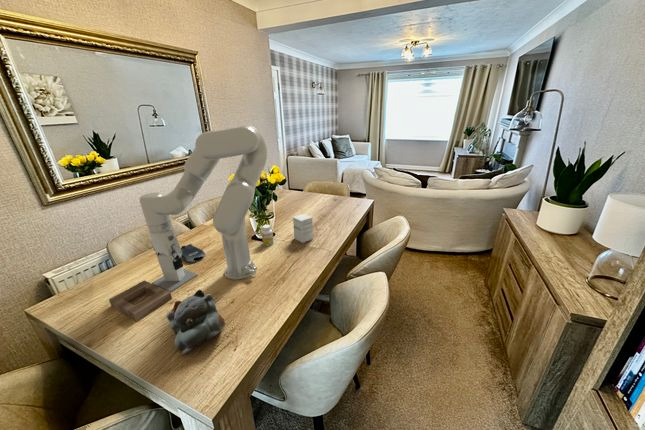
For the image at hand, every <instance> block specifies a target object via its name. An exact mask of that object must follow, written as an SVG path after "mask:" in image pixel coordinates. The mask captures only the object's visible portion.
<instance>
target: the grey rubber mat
mask: <svg viewBox="0 0 645 430" xmlns="http://www.w3.org/2000/svg"><path fill="white" fill-rule="evenodd" d="M183 270H184V274H185V276H184V277H183V279H182V280H181V281H165V278H164V275H163V276H161V277H159V278H158V279H155V280H154V281H151V284H154V285H156V286H158V287H160V288H162V289H164V290H167V291H169V292H170V293H172V292H173V291H175V290H177V289H178V288H180V287H181V286H183V285H185V284H186V283H188V282H190V281H192V279H195V278H196V277H198V276H199V275H198V273H195V272H193V271H190V270H187V269H185V268H183Z"/></svg>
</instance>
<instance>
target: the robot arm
mask: <svg viewBox="0 0 645 430" xmlns="http://www.w3.org/2000/svg"><path fill="white" fill-rule="evenodd" d="M194 144H195V145H194V149H193V151H192V152H191V153H190V155H189V157H188V158H187V160H186V161H185V163H184V166H183V169H184V171H183V174H182V177H181V178H180V180H179V181H178V183H177V184H176V186H175V187H174V189H173V190H171V191H170V192H169V193H168V194H166V195H164V194H163V193H160V192H149V193H145V194H143V195H141V196H140V197H139V203H140V207H141V210H142V211H141V212H142V214H143V216H144V221H145V223H146V226H147V229H148V233H149V234H150V238H151V243H150V244H151V246H152V247H153V250H154V252H155V253H154V254H155V255H156V257H157V256H158V255H159V254H160V253H161V254H164V255H166V256H170V257H171V258H172V259H173V261H172V262H173V265H174V269H175V270H178V269H180V268H181V267H184V265H183V263H184V262H183V261H182V259H183V258H182V251H181V248H180V247H181V246H180V242H179V240H178V236H177V234H176V232H175V230H174V228H173V225H172V221H171V217H170V216H177V215H180V214H181V213H183V212H184V211H185V210H186V209H187V207H188V206H189V205H190V204H191V203H192V202H193V200H194V199H195V197H196V196H197V194H198V193H199V191H200V190H201V188H202V186H203V185H204V183H205V182H206V181H207V180H208V178H209V177H210V175H211V174H212V172H213V170H214V169H215V168H216V166H217V164H218V163H219V162H220V160H221V159H227V158H232V157H236V156H242V157H241V158H240V161H239V164H238V166H237V167H236V171H235V173H234V175H233V177H232V178H231V180H230V181H229V183H228V185H227V186H226V188H225V191H224V192H223V194H222V196H221V199H220V201H219V204H218V206H217V208H216V210H215V213H214V215H213V217H212V225H213V227H214V228H215V230H216V231H217V232H218V233H219V234H220V235H221V240H222V244H223V245H222V246H223V251H224V257H225V262H226V268H225V269H224V276H225V278H227V279H229V280H232V281H233V280H235V281H236V280H243V279H246V278H249V277H250V276H251V275H256V273H257V270H258V266H256V264H255V263H254V262H253V261H252V260H251V253H250V248H249V241H248V232H247V226H246V216H247V214H248V212H249V210H250V207H251V205H252V203H253V200H254V197H255V192H256V187H257V185H258V182H259V180H260V178H261V176H262V173H263V170H264V169H265V166H266V164H267V163H266V162H267V158H268V147H267V143H266V141H265V139H264V137H263V135H262V134H261V133H260V131H259V130H258V129H257V128H256V127H255V126H253V125H250V124H244V125H241V126H238V127H233V128H226V129H222V130H207V131H205V132H203V133H200V134H199V135H198V136H197V138H196V139H195V143H194ZM173 251H175V252H174V253H172V252H173ZM171 253H172V254H171ZM175 254H176V255H177V256H176V257H174V256H173V255H175Z"/></svg>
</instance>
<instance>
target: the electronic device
mask: <svg viewBox="0 0 645 430" xmlns="http://www.w3.org/2000/svg"><path fill="white" fill-rule="evenodd" d="M180 248H181V251H182V258H181V259H183V260H184V261H185V262H186V263H192V264H193V263H199V261H201V260H203V259H204V258H205V256H206V252H205V251H204V250H203V249H201V248H199V247H196V246H194V245H193V243H188V244H187V245H182V246H180ZM200 257H201V259H200ZM198 259H200V260H198Z"/></svg>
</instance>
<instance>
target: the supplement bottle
mask: <svg viewBox="0 0 645 430" xmlns="http://www.w3.org/2000/svg"><path fill="white" fill-rule="evenodd" d="M261 229H262V230H261V238H262V245H263V246H265V247H267V246H271V245H273V244H274V234H273V233H274V232H273V230H272V227H271V224H264V225H262V227H261Z"/></svg>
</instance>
